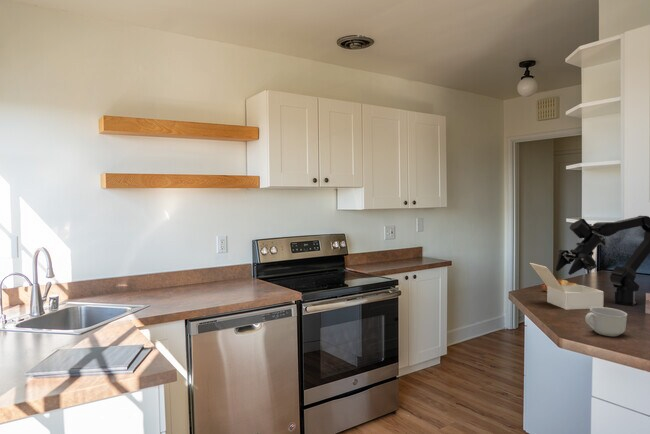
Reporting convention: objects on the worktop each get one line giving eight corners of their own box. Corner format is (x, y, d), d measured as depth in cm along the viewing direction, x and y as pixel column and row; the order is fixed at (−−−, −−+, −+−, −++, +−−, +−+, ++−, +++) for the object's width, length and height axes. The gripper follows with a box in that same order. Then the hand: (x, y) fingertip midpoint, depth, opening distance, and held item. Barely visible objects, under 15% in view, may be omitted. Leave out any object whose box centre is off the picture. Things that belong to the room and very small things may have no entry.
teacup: (612, 328, 158) (612, 306, 158) (634, 338, 147) (635, 314, 147) (573, 329, 157) (573, 307, 157) (593, 339, 147) (593, 315, 146)
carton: (582, 300, 201) (582, 285, 201) (604, 308, 186) (604, 291, 186) (546, 301, 200) (546, 286, 200) (566, 309, 185) (566, 292, 185)
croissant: (590, 301, 214) (590, 285, 217) (590, 295, 206) (591, 278, 209) (540, 296, 225) (542, 281, 228) (539, 290, 217) (540, 274, 220)
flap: (530, 262, 198) (529, 263, 198) (546, 267, 185) (545, 267, 185) (547, 285, 199) (547, 286, 199) (565, 291, 186) (564, 292, 186)
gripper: (615, 261, 184) (589, 289, 183) (586, 255, 202) (562, 281, 202) (596, 243, 183) (570, 271, 183) (569, 238, 202) (545, 264, 201)
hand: (562, 272), depth 192 cm, fingers open, 9 cm apart
